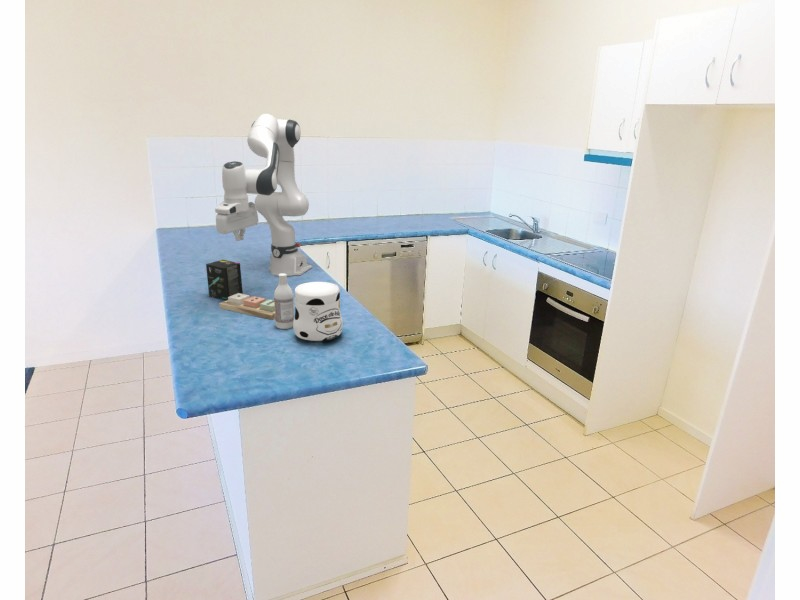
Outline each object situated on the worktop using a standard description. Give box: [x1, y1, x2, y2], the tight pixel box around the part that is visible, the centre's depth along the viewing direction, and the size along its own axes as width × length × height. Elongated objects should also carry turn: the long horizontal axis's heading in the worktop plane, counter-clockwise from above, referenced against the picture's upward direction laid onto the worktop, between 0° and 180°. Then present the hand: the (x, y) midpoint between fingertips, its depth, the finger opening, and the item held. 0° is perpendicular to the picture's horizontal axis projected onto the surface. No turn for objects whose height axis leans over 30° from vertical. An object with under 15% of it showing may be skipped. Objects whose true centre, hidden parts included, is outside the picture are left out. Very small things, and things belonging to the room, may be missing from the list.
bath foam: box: [273, 273, 295, 330], centre depth 195 cm, size 7×7×20 cm
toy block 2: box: [244, 295, 267, 309], centre depth 213 cm, size 6×6×4 cm
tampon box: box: [205, 259, 244, 302], centre depth 225 cm, size 11×9×15 cm
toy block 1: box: [228, 293, 251, 305], centre depth 216 cm, size 6×6×4 cm
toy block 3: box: [260, 299, 275, 312], centre depth 210 cm, size 6×6×4 cm
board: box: [218, 296, 275, 321], centre depth 213 cm, size 12×26×2 cm, turn 65°
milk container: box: [292, 281, 344, 343], centre depth 187 cm, size 17×17×18 cm
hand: (239, 240), depth 211 cm, fingers closed
